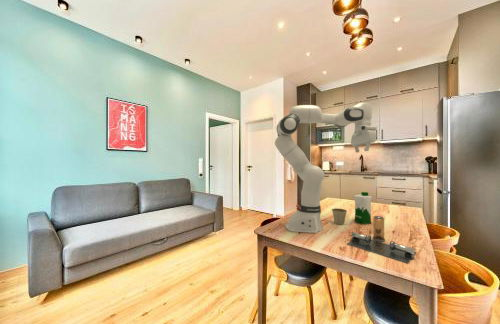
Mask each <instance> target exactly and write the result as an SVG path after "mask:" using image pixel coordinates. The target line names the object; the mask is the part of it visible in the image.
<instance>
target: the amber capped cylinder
mask: <svg viewBox="0 0 500 324" xmlns="http://www.w3.org/2000/svg"><path fill="white" fill-rule="evenodd" d="M372 219H373V220H372V221H373V222H372V223H373V224H372V225H373V226H372V229H373V230H372V234H373V235H372V240H374V241H378V242H382V243H385V242H386V238H385V218H384V216H380V215H374V216H373V218H372Z"/></svg>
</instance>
